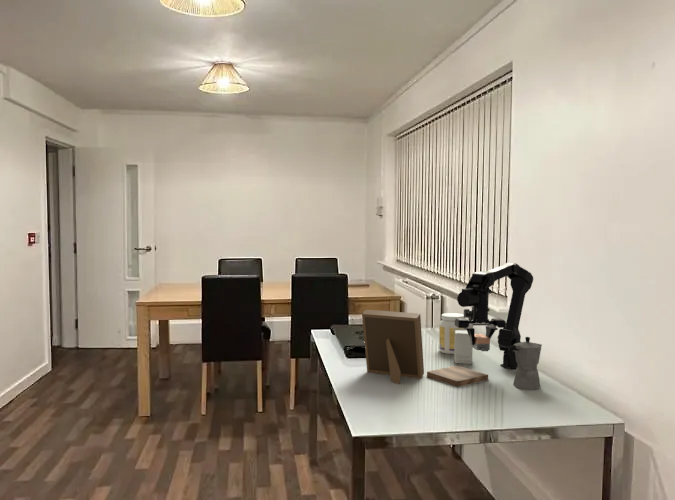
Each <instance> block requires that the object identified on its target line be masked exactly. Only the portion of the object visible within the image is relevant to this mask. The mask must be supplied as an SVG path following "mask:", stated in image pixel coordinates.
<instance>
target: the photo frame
mask: <svg viewBox="0 0 675 500" xmlns="http://www.w3.org/2000/svg"><path fill="white" fill-rule="evenodd" d="M361 318H362V319H361V320H362V329H363V342H364V343H365V349H364V350H365V363H366V364H365V365H366V371H367V373H371V374H372V373H373V374H374V373H375V374H381V375H388V376H390V382H392V383H394V384H397V385H400V382H401V377H403V378H404V377H405V378H413V379H420V380H421V379H422V378H423V376H424V374H425V368H424V366H425V364H424V352H423V351H424V349H423V336H422V335H423V334H422V333H423V331H422V319H421V313H418V312H416V313H414V312H406V311H405V312H403V311H401V312H400V311H393V310H392V311H391V310H379V309H378V310H377V309H365V310H364V311H363V312H362V313H361Z"/></svg>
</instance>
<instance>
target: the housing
mask: <svg viewBox="0 0 675 500" xmlns="http://www.w3.org/2000/svg"><path fill="white" fill-rule="evenodd" d="M470 346H471V347H473V349H474V350H476V351H481V352H489V351H490V350H491V349H490V348H491V339H490V338H489V337H487V336H486V334H483V333H474V346H473V345H472V343H471V340H470Z"/></svg>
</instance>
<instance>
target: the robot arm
mask: <svg viewBox="0 0 675 500" xmlns="http://www.w3.org/2000/svg"><path fill="white" fill-rule="evenodd" d="M505 277H507V278H508V279H509V280H510V287H511V290H512V294H511V298H510V303H509V306H508V307H509V308H508V313H507V316H506V317H507V318H506V321H505V319H502V318H501V317H500V318H497V317H496V318H494V317H492V318H491V319H489V312H490V308H489V300H490V299H489V295H490V294H492V293H493V291H492V290H491V287H492V286H493V285H494V284H495V283H496V281H499V280H501V279H504V278H505ZM533 282H534V275H532V273H531V272H530V271H528V270H527V269H525V268H523V267H522V266H520V265H519V264H517V262H516V263H515V262H505V263H504V264H503V265H500V266H497V267H495V268H493V269H489V270H486V271H485V270H483V271H482V270H481V271H475V272H473V273H472V274H471V276H470V278H469V280H468V283H467V284H466V286H465V288H461V291H460V292H459V293H458V295H457V297H456V298H457V299H456V300H457V303H458V305H459V306H460V307H461V308H462V307H463V308H464V309H463V314H464V318H456V320H455V326H457V327H458V328H464V329H466V330H467V332H468V334H469V337H470V340H471V343H472V345H473V346H474V334H476V333H475V330H476V329H475V328H474V327H473V326H485V336H487V337H489V338H490V340H491V339H492V337H493V335H494V334H495V332H496V331H498V335H497V337H496V338H497V344H498V349H499V351H502V352H503V355H502V357H503V358H502V363H501V364H500V367H503V368H506V369H507V368H508V369H511V370H514V369H515V370H516V368H512V365H511V362H510V358H509V354H508V349H509V348H510V346H512V345H514V344H516V343H520V342H522V341H521V337H522V336H521V332H520V330H519V328H520V327H519V326H520V321H521V317H522V312H523V306H524V302H525V297H526V294H527V293H528V292H529V291H530V290H531V288H532V285H533ZM467 307H471V310H470V308H469V309H468V308H467ZM467 318H468V319H467ZM513 358H514V364H515V365H517V367H518V363H517V362H516V356H515V350H513Z"/></svg>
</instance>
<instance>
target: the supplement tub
mask: <svg viewBox="0 0 675 500" xmlns="http://www.w3.org/2000/svg"><path fill="white" fill-rule="evenodd" d="M456 318H464V313H457V312H444V313H442V314H441V320H440V321H439V331H438V332H439V335H438V336H439V339H438V340H439V341H438V342H439V347H438V348H439V351H440V353H443V354H446V355H454V351H455V330H462V331H467V330H466V329H464V328H458V327H457V326H455V320H456Z"/></svg>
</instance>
